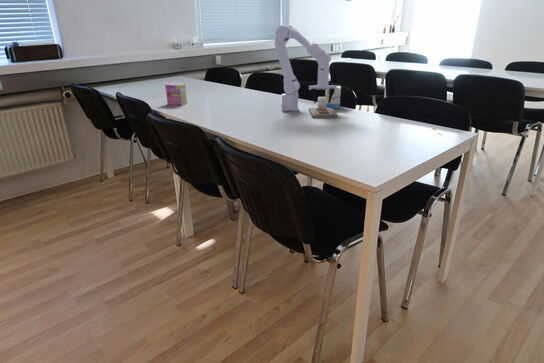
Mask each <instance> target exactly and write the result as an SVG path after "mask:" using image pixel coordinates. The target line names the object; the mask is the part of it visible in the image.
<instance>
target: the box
mask: <svg viewBox="0 0 544 363" xmlns="http://www.w3.org/2000/svg"><path fill="white" fill-rule="evenodd" d="M164 85H165V86H164V87H165V93H166V95H165V96H166V101H167V105H173V106H184V105H187V104H188V98H187V88H186V83H171V82H170V83H166V84H164Z"/></svg>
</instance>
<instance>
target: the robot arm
mask: <svg viewBox="0 0 544 363" xmlns="http://www.w3.org/2000/svg"><path fill="white" fill-rule="evenodd" d="M291 39H293V40H295V41H296V42H298V43H299V44H301V46H303V47H305V48H306V53H308V54H309V55H310V56H311V57H312V58H313V59H314V60H316V62H317V64H318V65H317V66H318V67H317V84H316V85H315V84H314V85H308V90H310V91H311V94H312V97H313V103H314V104H316V103H317V90H326V89H329V99H328V103H330V101H331V98H332V96H333V94H334V92H335V90H337V86H338V85H333V84H331V85H329V79H330V78H329V77H330V62H331V60H332V57H331V55H330V53H329V52H325V51H326V50H324V49H322V48H321V47H320V46H319V44H318V43H315V42H312V43H311V42H310V41H309V40H308V39H307V38H306V37H305V36H303V34H302V33H300V32H299V30H298V29H296V28H295V27H293V26H292V25H290V24H287V25H285V24H282V25H280V26H278V27H277V29H276V30H275V39H274V47H275V50H276V51H275V52H276V54H277V58H278V61H279V65H280V68H281V71H282V75H283V80H282V81H283V82H282V83H283V91H284V92H285V93H281V103H280V108H281V111H282V112H283V111H285V112H287V111H288V112H293V111H294V112H298V111H299V112H300V109H299V108H300V107H299V90H300V88H301V85H300V82H299V81H298V79H297V77H296V75H294V72H293V68H292V65H291V61H290V58H289V54H288V51H287V48H286V44H287V43H288V41H289V40H291Z"/></svg>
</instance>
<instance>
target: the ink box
mask: <svg viewBox="0 0 544 363" xmlns="http://www.w3.org/2000/svg"><path fill="white" fill-rule="evenodd" d="M336 86H337V90H335V92H334V94H333V96H332V98H331V101H330V103H328V99H329V89H325V90H324V91H325V92H324V94H325V95H324V97H326V108H333V109H337V110H338V109H340V106H341V93H342V92H341V91H342V86H341V85H336Z"/></svg>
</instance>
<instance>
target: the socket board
mask: <svg viewBox="0 0 544 363" xmlns="http://www.w3.org/2000/svg"><path fill="white" fill-rule="evenodd" d="M317 110H318V107H309V108H308V112H309V114H310V116H311V119H338V117H339V116H338V113H337V112H336V111H335V108H326V111H317Z"/></svg>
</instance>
